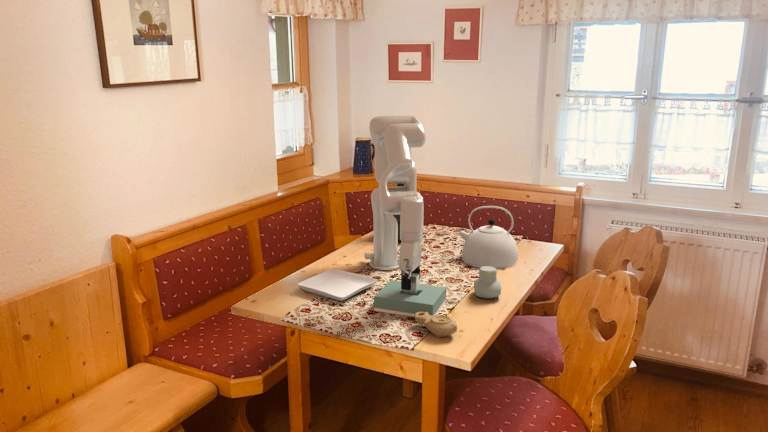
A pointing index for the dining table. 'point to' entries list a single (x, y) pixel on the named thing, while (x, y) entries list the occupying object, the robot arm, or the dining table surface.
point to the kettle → (489, 245)
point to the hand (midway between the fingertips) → (410, 284)
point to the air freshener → (487, 283)
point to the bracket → (413, 285)
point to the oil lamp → (437, 323)
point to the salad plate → (336, 284)
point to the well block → (409, 299)
